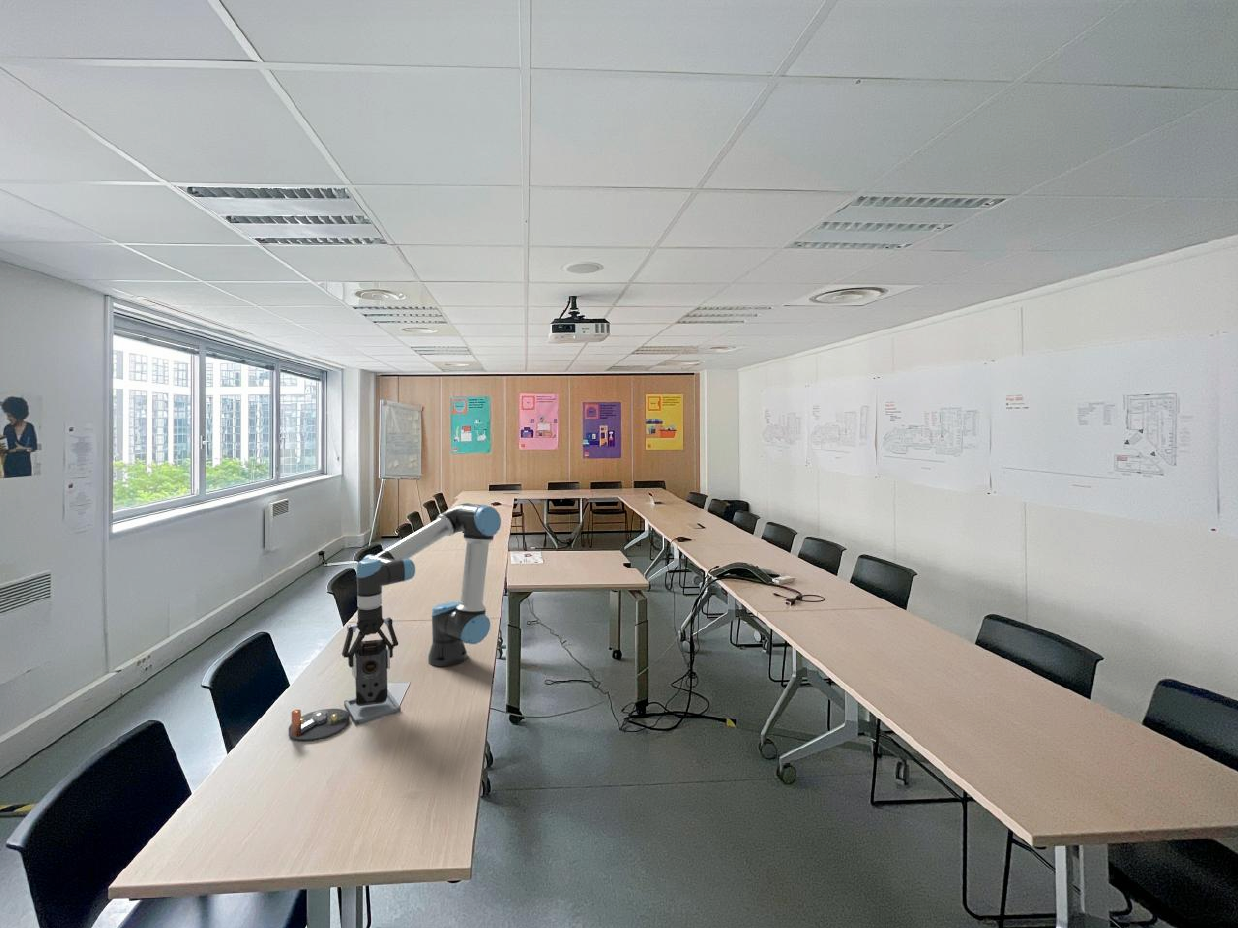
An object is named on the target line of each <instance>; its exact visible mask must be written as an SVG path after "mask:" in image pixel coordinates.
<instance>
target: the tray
mask: <svg viewBox="0 0 1238 928" xmlns="http://www.w3.org/2000/svg"><path fill="white" fill-rule="evenodd" d="M343 702H344V703H343V704H344V707H345V710H346V711H347V712H348V713H349V714H350V719H351V720H352V722H353V724H354V725H355V726H357V725H361V724H365V723H367V722H371V721H374V720H375V721H376V720H377V719H382V718H384V717H387V716H391V715H394V714H397V713H401V712H402V707H401V705H400V704H399V703H398V702H397V700H396V699H395V697H394V696H393V695H392V693H391V692H390V691H389V690H388V688H387V700H386V701H385V702H384V703H381V704H373V705H365V706H358V705H356V697H354V698H350V699H346V700H344V701H343Z"/></svg>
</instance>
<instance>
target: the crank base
mask: <svg viewBox="0 0 1238 928" xmlns="http://www.w3.org/2000/svg"><path fill="white" fill-rule="evenodd" d="M321 710H322V709H319V710H315V711H312V712H310V713H306V714H304V715H301V724H303V723H305V722H307V721H309V720H311V719H312V714H313V713H315V712H317V711H321ZM323 710H325V711H327V712H328V720H327V722H325V723H323V724H320V725H313V726H312V727H310V728H308V729H306V730H305V731H303V732H301V734H300V735H299V736H292V723H291V724H290V725H289V727H288V736H289V738H290V739H291V740H292V741H295V742H299V743H300V742H301V743H310V742H317V741H321V740H325V739H329V738H331V737H333V736H335V735H338V734H339V733H341V732H342V731H344V730H345V729H346V728H348V726H349V725H350V723H351V717H350V714H349V713H348V711H347V710H346V709H342V708H327V709H326V708H324V709H323Z"/></svg>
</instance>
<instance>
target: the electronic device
mask: <svg viewBox="0 0 1238 928" xmlns="http://www.w3.org/2000/svg"><path fill="white" fill-rule="evenodd" d="M386 648H387V645H386V642H385V641H384V640H383V639H382V638H381V639H373V640H362V641H361V643H360V645H359V647H358V648H357V651H356V653H355V657H356V675H357V677H354V679H355V681H354V682H355V698H356V705H358V706H365V705H373V704H381V703H384V702H385V701H386V700H387V689H388V669H387V651H386Z"/></svg>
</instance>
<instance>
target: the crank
mask: <svg viewBox="0 0 1238 928" xmlns="http://www.w3.org/2000/svg"><path fill="white" fill-rule="evenodd" d="M320 710H321V711H319V710H316V711H317V712H315V711H314V712H315V713H313V714H312V719H311V720H309V721H307V722H305V723H303V724H301V717H302V711H301V709H295V710H292V711H291V724H292V736H299V735H300V734H301V732H303V731H305V730H306V729H308V728H310V727H312V726H313V725H320V724H323V723H325V722H327V720H328V712H327V711H325V710H324V709H320Z"/></svg>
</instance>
